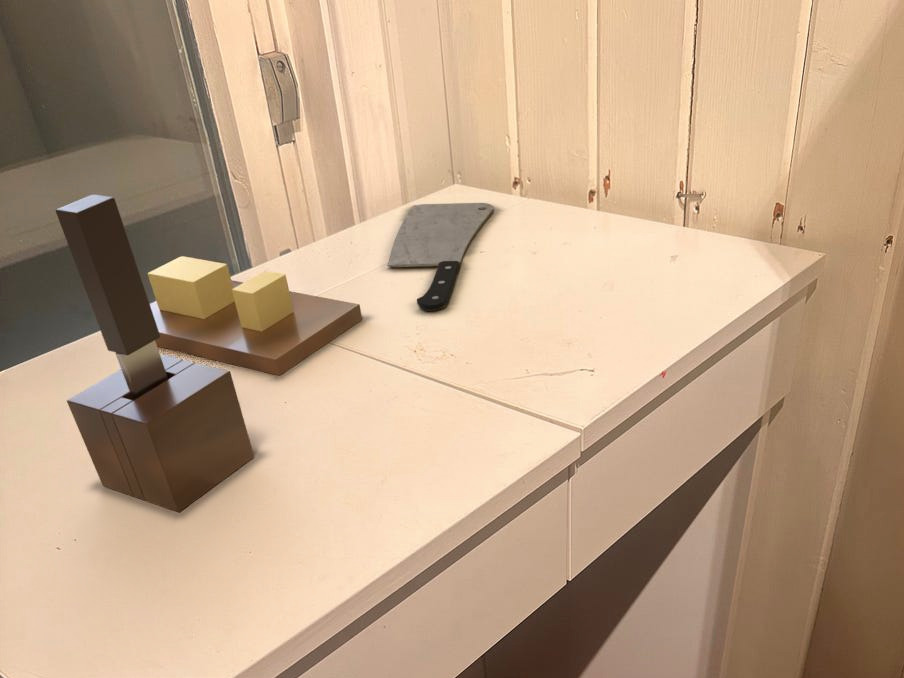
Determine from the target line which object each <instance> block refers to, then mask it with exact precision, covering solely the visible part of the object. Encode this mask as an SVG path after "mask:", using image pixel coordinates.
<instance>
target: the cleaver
mask: <svg viewBox="0 0 904 678" xmlns="http://www.w3.org/2000/svg"><path fill="white" fill-rule="evenodd" d="M494 210H495V207H494V205H492V204H491V203H488V202H459V203H458V202H457V203H456V202H455V203H454V202H453V203H420V204H413V205H412V206H411V208H410V210H408V213H407V214H406V216H405V217H404V218H403V221H402V223H401V225H400V226H399V229H398V231H397V233H396V235H395V239H394V241H393V244H392V248H391V251H390V254H389V258H388V261H387V265H386V266H387V267H393V268H404V267H407V268H408V267H437V268H436V272H435V274H434V277H433V280H432V282H431V284H430V286H429V288H428V290H427V291H426V292H425V293H424V295H422V296H420V297H418V298H417V299H416V304H417V305H418V307H419V308H420V309H422V310H424V311H437V310H439V309H442V308H444V307H446V305H447V304H448V302H449V300H450V297H451V294H452V292H453V288H454V285H455V282H456V279H457V276H458V273H459V270H460V268H461V262H462V260H463V258H464V255H465V252H466V250H467V249H468V247H469V245H470V243H471V241H472V240H473V238H474V237H475V236H476V234H477V232H478V230H480V228H481V227H482V225H483V224H484V223H485V222H486V220H487V219H488V218H489V217H490V215H491V214H492V213H493V212H494Z"/></svg>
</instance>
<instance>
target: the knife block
mask: <svg viewBox="0 0 904 678" xmlns="http://www.w3.org/2000/svg"><path fill="white" fill-rule="evenodd" d="M160 356H161V359H162V362H163V365H164V368H165V371H166V374H167V377H168V380H167V381H165V382H163V383H162V384H160V385H159V386H157V387H155V388H154V389H152V390H150V391H149V392H147V393H145V394H144V395H142V396H141V397H139V398H137V399H136V400H134V401H133V399H132V396H131V394H130V391H129V388H128V386H127V383H126V380H125V378H124V375H123V372H122V370H121V368H120V369H118V370H117V371H115V372H114V373H112V374H110V375H108V376H107V377H105V378H103V379H101V380H100V381H98V382H96V383H94V384H92V385H91V386H89V387H88V388H86V389H83V390H82V391H80V392H79V393H77V394H75V395H74V396H72V397H70V398H69V399H67V400H66V403H67V405H68V407H69V410H70V412H71V414H72V417H73V420H74V422H75V424H76V426H77V429H78V431H79V433H80V437H81V438H82V441H83V442H84V445H85V448H86V450H87V452H88V454H89V457H90V460H91V462H92V464H93V467H94V468H95V471H96V473H97V477H98V478H99V480H100V484H101V485H102V486H103V487H106V488H108V489H111V490H113V491H116V492H120V493H122V494H125V495H128V496H131V497H134V498H137V499H139V500H142V501H146V502H148V503H151V504H154V505H157V506H159V507H163V508H165V509H169V510H171V511H174V512H177V513H181V511H183V510H184V509H186V508H187V507H188V506H189V505H191V504H192V503H194V502H195V501H196V500H198V499H199V498H201V497H202V496H203V495H205V494H206V493H207V492H209V491H210V490H211V489H213V488H214V487H216V486H217V485H218V484H219V483H221V482H222V481H224V480H225V479H226V478H228V477H229V476H230V475H232V474H233V473H234V472H236V471H237V470H238V469H240V468H241V467H243V466H244V465H245V464H246V463H248V462H249V461H251V460H252V459H254V458H255V454H254V450H253V446H252V443H251V440H250V436H249V432H248V429H247V425H246V422H245V418H244V414H243V412H242V408H241V403H240V401H239V397H238V394H237V391H236V387H235V385H234V380H233V376H232V373H231V371H230V370H228V369H227V370H226V369H224V368H219V367H215V366H211V365H206V364H204V363H203V364H202V363H199V362H195V361H190V360H187V359H183V358H179V357H174V356H171V355H167V354H163V353H160Z"/></svg>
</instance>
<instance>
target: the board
mask: <svg viewBox="0 0 904 678" xmlns="http://www.w3.org/2000/svg"><path fill="white" fill-rule="evenodd" d="M231 281H232V284H233V288H235V287H237V286H239V285H241V284H242V283H244V282H245V281H237V280H233V279H231ZM289 292H290V297H291V301H292V306H293V310H294V312H293V313H291V314H290V315H288V316H287V317H285V318H283V319H282V320H280V321H279V322H277V323H275V324H274V325H272V326H271V327H269V328H267V329H266V330H264V331H262V332H261V331H256V330H251V329H247V328H242V327H241V323H240V319H239V316H238V312H237V308H236V304H235V302H233V303H232V304H230V305H228V306H226V307H225V308H223V309H221V310H220V311H218V312H216V313H214V314H213V315H211V316H209V317H207V318H206V319H201V318H196V317H191V316H187V315H182V314H178V313H173V312H168V311H164V310H159V307H158V304H157V301H156V300H155V301H153V302H150V303H149V304H150V307H151V310H152V313H153V316H154V319H155V322H156V325H157V328H158V331H159V334H160V338H158V339H156V340H155V341H156V344H157V347H158V348H159V347H160V348H162V349H163V348H164V349H168V350H172V351H175V352H176V351H177V352H179V353H183V354H187V355H193V356H197V357H200V358H205V359H209V360H213V361H218V362H221V363H226V364H229V365H234V366H238V367H242V368H246V369H250V370H253V371H258V372H263V373H267V374H271V375H276V376H281V375H283V374H285V373H286V372H287V371H289V370H290V369H291V368H293V367H295V366H296V365H298V364H299V363H300V362H302V361H303V360H305V359H307V358H308V357H309V356H310V355H312V354H314V353H315V352H317V351H318V350H320V349H322V348H323V347H324V346H325V345H327V344H329V343H330V342H332V341H333V340H334V339H336V338H337V337H339V336H340V335H342V334H344V333H345V332H347V330H350V329H351V328H352V327H353V326H355V325H357V324H358V323H359V322H361V321H362V320H363V316H362V309H361V304H359V303H355V302H349V301H344V300H338V299H333V298H328V297H323V296H318V295H311V294H306V293H302V292H298V291H297V292H296V291H291V290H289Z"/></svg>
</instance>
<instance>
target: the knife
mask: <svg viewBox="0 0 904 678" xmlns="http://www.w3.org/2000/svg"><path fill="white" fill-rule="evenodd" d="M54 211H55V214H56V217H57V219H58V221H59V224H60V227H61V230H62V232H63V235H64V237H65V240H66V242H67V246H68V248H69V251H70V253H71V256H72V259H73V262H74V264H75V267H76V270H77V272H78V275H79V277H80V280H81V283H82V285H83V288H84V290H85V293H86V296H87V299H88V301H89V304H90V306H91V307H90V308H91V309H92V312H93V314H94V318H95V320H96V323H97V324H98V327H99V330H100V333H101V336H102V338H103V342H104V343H105V346H106V349H107V351H108V352H112V353H115V356H116V358H117V361H118V364H119V367H120V369H121V370H122V372H123V375H124V378H125V380H126V383H127V386H128V388H129V391H130V394H131V396H132V399H133V401H134V400H136V399H137V398H139V397H141V396H142V395H144V394H145V393H147V392H149V391H150V390H152V389H154V388H155V387H157V386H159V385H160V384H162V383H163V382H165V381H167V380H168V377H167V374H166V371H165V368H164V365H163V362H162V359H161V356H160V354H161V353H160V351H159V346H157V344H156V341H155V340H156V339H158V338H160V334H159V331H158V328H157V325H156V322H155V319H154V316H153V313H152V310H151V307H150V304H151V303H150V301H149V298H148V295H147V292H146V289H145V286H144V283H143V279H142V277H141V275H140V270H139V268H138V265H137V262H136V259H135V256H134V253H133V249H132V246H131V244H130V241H129V237H128V235H127V232H126V231H127V230H126V228H125V225H124V222H123V220H122V216H121V214H120V211H119V208H118V204H117V201H116V197H114V196H107V195H100V194H94V193H93V194H90V195H87V196H85V197H83V198H79V199H78V200H75V201H73V202H71V203H69V204H66V205H64V206H61V207H58V208H56V209H55V210H54Z"/></svg>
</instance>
